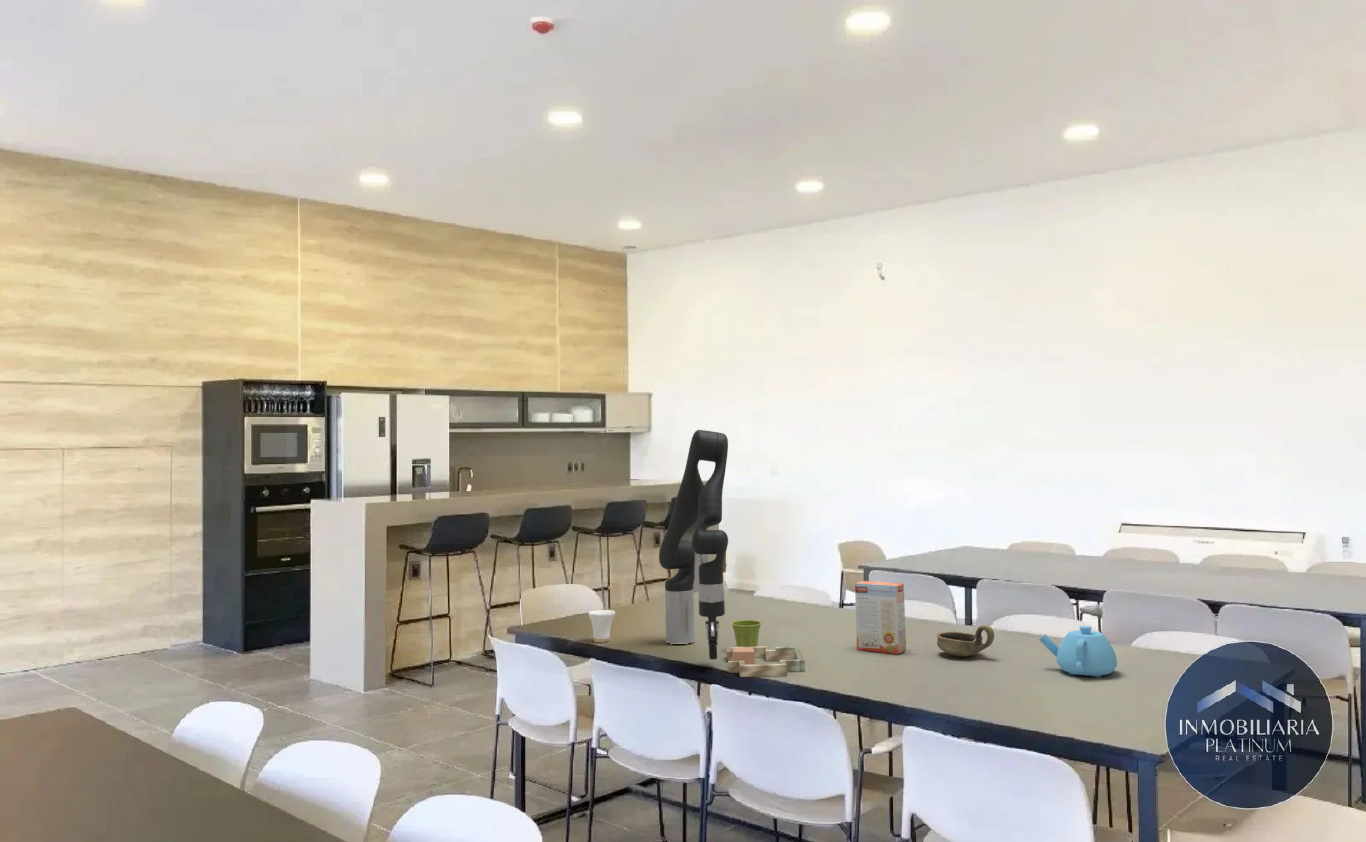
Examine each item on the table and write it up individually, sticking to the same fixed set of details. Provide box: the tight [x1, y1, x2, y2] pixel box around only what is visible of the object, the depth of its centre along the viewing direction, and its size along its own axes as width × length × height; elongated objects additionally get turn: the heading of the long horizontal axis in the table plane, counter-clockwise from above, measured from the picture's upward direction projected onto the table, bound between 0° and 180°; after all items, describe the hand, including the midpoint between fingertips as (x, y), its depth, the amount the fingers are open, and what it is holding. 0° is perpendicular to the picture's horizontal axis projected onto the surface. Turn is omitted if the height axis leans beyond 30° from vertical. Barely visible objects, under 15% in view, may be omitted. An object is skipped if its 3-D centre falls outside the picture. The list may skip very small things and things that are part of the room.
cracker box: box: [854, 580, 907, 655], centre depth 300 cm, size 14×6×21 cm, turn 53°
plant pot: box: [730, 619, 762, 647], centre depth 305 cm, size 9×9×9 cm
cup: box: [587, 609, 616, 639], centre depth 324 cm, size 9×9×10 cm
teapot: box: [1038, 625, 1118, 678], centre depth 268 cm, size 20×20×13 cm
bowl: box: [936, 624, 995, 658], centre depth 290 cm, size 14×18×10 cm
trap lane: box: [726, 645, 806, 678], centre depth 284 cm, size 22×25×4 cm
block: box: [732, 647, 756, 665], centre depth 284 cm, size 6×6×5 cm
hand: (713, 658), depth 284 cm, fingers closed
